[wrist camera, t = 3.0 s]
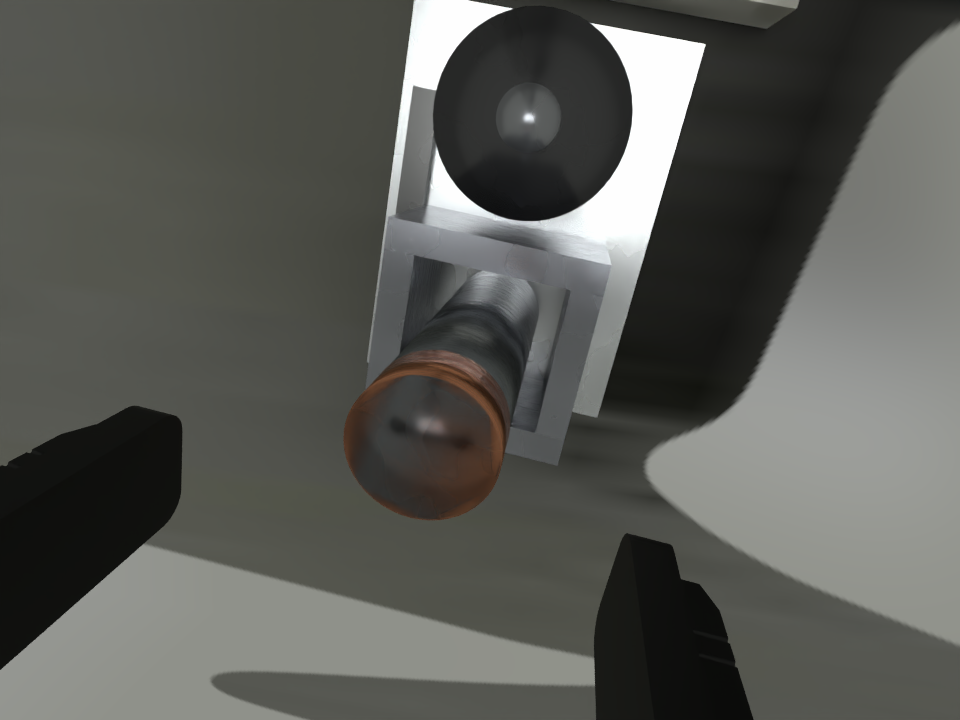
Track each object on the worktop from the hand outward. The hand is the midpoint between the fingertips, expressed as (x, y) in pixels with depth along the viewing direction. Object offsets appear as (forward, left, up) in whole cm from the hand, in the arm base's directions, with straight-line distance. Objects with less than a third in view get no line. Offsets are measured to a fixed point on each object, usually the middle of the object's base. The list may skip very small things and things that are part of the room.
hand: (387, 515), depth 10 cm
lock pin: (0, 0, -14) cm, 14 cm away
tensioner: (-4, 0, -16) cm, 16 cm away
